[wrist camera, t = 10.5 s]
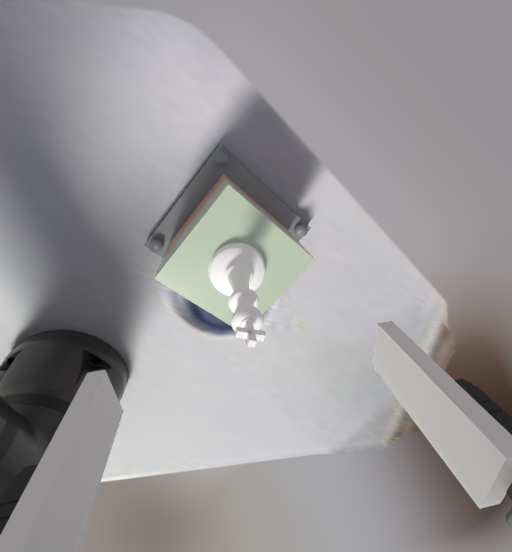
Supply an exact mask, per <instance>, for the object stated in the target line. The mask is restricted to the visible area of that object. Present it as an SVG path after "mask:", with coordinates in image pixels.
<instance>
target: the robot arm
mask: <svg viewBox="0 0 512 552" xmlns="http://www.w3.org/2000/svg"><path fill="white" fill-rule="evenodd" d="M372 366H373V367H374V369H375V370H376V371H377V373H378V374H379V375H380V377H381V378H382V379H383V381H384V382H385V383H386V385H387V386H388V387H389V389H390V390H391V391H392V393H393V394H394V395H395V397H396V398H397V399H398V401H399V402H400V403H401V405H402V406H403V407H404V409H405V410H406V411H407V413H408V414H409V415H410V417H411V418H412V419H413V421H414V422H415V423H416V425H417V426H418V427H419V429H420V430H421V431H422V433H423V434H424V435H425V436H426V438H427V439H428V440H429V442H430V443H431V444H432V446H433V447H434V449H435V450H436V451H437V453H438V454H439V455H440V457H441V458H442V459H443V461H444V462H445V463H446V465H447V466H448V467H449V469H450V470H451V471H452V472H453V474H454V475H455V477H456V478H457V479H458V480H459V482H460V483H461V484H462V486H463V487H464V489H465V490H466V491H467V493H468V494H469V495H470V497H471V498H472V499H473V500H474V502H475V503H476V504H477V506H478V507H479V508H484V507H488V506H492V505H496V504H499V503H501V501H502V500H503V498H504V496H505V494H506V493H507V494H508V496H509V497H510V498H511V499H512V417H511V416H509V415H508V414H507V413H506V412H505V411H503V410H502V408H501V407H499V406H498V405H497V404H496V403H495V402H492V400H491V399H490V398H489V397H488V396H487V395H486V394H485V393H484V392H483V391H481V390H480V389H479V388H478V387H476V386H475V385H473V384H471V383H469V382H467V381H466V380H464V379H459V380H453V379H452V378H451V377H450V376H449V375H448V374H447V373H446V372H445V371H444V370H443V369H442V368H441V367H439V366H438V365H437V364H436V363H435V362H434V361H433V360H432V359H431V358H430V357H429V356H428V355H427V354H426V353H425V352H424V351H423V350H422V349H421V348H419V347H418V346H417V345H416V344H415V343H414V342H413V341H412V340H411V339H410V338H409V337H408V336H407V335H406V334H405V333H404V332H403V331H402V330H401V329H399V328H398V327H397V326H396V325H395V324H394V323H393V322H392V321H390V322H384V323H378V324H377V331H376V338H375V345H374V352H373V359H372ZM127 380H128V372H127V367H126V365H125V362H124V361H123V359H122V357H121V356H120V355H119V354H118V353H117V352H116V351H115V350H114V349H113V348H112V347H111V346H109V345H108V344H107V343H105V342H103V341H101V340H99V339H97V338H95V337H93V336H90V335H87V334H83V333H79V332H73V331H49V332H43V333H39V334H36V335H33V336H31V337H29V338H27V339H25V340H24V341H22V342H21V343H20V344H19V345H17V346H16V348H15V349H14V350H13V351H12V352H11V353H10V354H9V355H8V356H7V357H6V358H5V359H4V361H3V362H2V364H1V366H0V552H78V549H79V546H80V543H81V540H82V537H83V534H84V531H85V528H86V525H87V522H88V518H89V516H90V512H91V509H92V506H93V503H94V500H95V497H96V494H97V491H98V488H99V485H100V481H101V478H102V475H103V472H104V469H105V466H106V463H107V460H108V457H109V454H110V450H111V447H112V444H113V441H114V438H115V435H116V432H117V429H118V426H119V423H120V419H121V416H122V413H123V409H122V407H121V405H120V402H119V401H120V400H121V398H122V395H123V393H124V390H125V387H126V384H127ZM506 523H508V524H511V523H512V508H511V509H510V511H509V512H508V514H507V515H506Z"/></svg>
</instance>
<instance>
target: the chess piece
mask: <svg viewBox="0 0 512 552" xmlns="http://www.w3.org/2000/svg"><path fill="white" fill-rule="evenodd" d="M208 272H209V277H210V280H211V282H212V284H213V286H214V287H215V288H216V289H217V290H218V291H219V292H221V293H222V294H224V295H227V296H230V297H229V299H228V306H229V308H230V310H231V311H232V312H233V313H234V314H233V316H232V319H231V325H232V328H233V329H234V331H235V338H242V339H246V343H247V346H248V347H255V345H256V342H257V341H262V342H263V341H264V339H265V336H266V335H265V332H264V331H261V330H260V329H261V328H262V326H263V323H264V318H263V315H262V313H261V312H260V311H259V310H258V309H257V307H258V304H259V298H258V295H257V294H256V293H255V292H254V291H255V290H256V289H257V288H258V287H259V286H260V285H261V283H262V281H263V279H264V276H265V263H264V260H263V257H262V256H261V254H260V253H259V252H258V251H257V250H256V249H255V248H254V247H252V246H250V245H248V244H244V243H231V244H227V245H225V246H223V247H221V248H220V249H218V250H217V251H216V252H215V253H214V254H213V256H212V258H211V260H210V262H209V267H208Z"/></svg>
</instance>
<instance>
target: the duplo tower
mask: <svg viewBox="0 0 512 552" xmlns="http://www.w3.org/2000/svg"><path fill="white" fill-rule="evenodd" d="M309 229H310V227H309V226H308V225H307V224H306V223H305V222H304V221H303V220H302V219H301V218H300V217H299V216H298V215H296V214H295V213H294V212H293V211H292V210H291V209H290V208H289V207H288V206H287V205H286V204H285V203H284V202H282V201H281V200H280V199H279V198H278V197H277V196H276V195H275V194H274V193H273V192H272V191H271V190H270V189H268V188H267V187H266V186H265V185H264V184H263V183H262V182H261V181H260V180H259V179H258V178H257V177H256V176H254V175H253V174H252V173H251V172H250V171H249V170H248V169H247V168H246V167H245V166H244V165H243V164H242V163H240V162H239V161H238V160H237V159H236V158H235V157H234V156H233V155H232V154H231V153H230V152H229V151H228V150H226V149H225V148H224V147H223V146H222V145H221V144H220V145H219V146H218V147H217V149H216V150H215V151H214V153H213V154H212V156H211V157H210V158H209V160H208V161H207V162H206V164H205V165H204V166H203V168H202V169H201V170H200V172H199V173H198V174H197V176H196V177H195V178H194V180H193V181H192V182H191V184H190V185H189V186H188V188H187V189H186V190H185V192H184V193H183V194H182V196H181V197H180V198H179V200H178V201H177V202H176V204H175V205H174V206H173V208H172V209H171V210H170V212H169V213H168V214H167V216H166V217H165V218H164V220H163V221H162V222H161V224H160V225H159V226H158V228H157V229H156V230H155V232H154V233H153V234H152V236H151V237H150V238H149V240H148V241H147V243H146V244H145V246H146V247H148V248H149V249H151V251H153V252H156V253H157V254H159V255H160V256H162V257H163V259H162V262H161V264H160V266H159V268H158V271H157V273H156V275H155V278H154V279H156V280H157V281H159V282H160V283H162V284H164V285H165V286H167V287H169V288H170V289H172V290H173V291H175V292H177V293H178V294H180V295H182V296H183V297H185V298H186V299H188V300H190V301H191V302H193V303H195V304H196V305H198V306H199V307H201V308H203V309H204V310H206V311H208V312H209V313H211V314H212V315H214V316H216V317H217V318H219V319H220V320H222V321H224V322H225V323H227V324H229V325H230V326H232V325H231V319H232V316H233V314H234V313H233V312H232V311H231V310H230V308H229V306H228V299H229V297H230V296H227V295H224V294H222V293H221V292H219V291H218V290H217V289H216V288H215V287H214V286H213V284H212V282H211V280H210V277H209V272H208V267H209V262H210V260H211V258H212V256H213V254H214V253H215V252H216V251H217V250H218V249H220V248H221V247H223V246H225V245H227V244H231V243H244V244H248V245H250V246H252V247H254V248H255V249H256V250H257V251H258V252H259V253H260V254H261V256H262V257H263V260H264V263H265V276H264V279H263V281H262V283H261V285H260V286H259V287H258V288H257V289H256V290H255V291H254V292H255V293H256V294H257V295H258V298H259V304H258V307H257V309H258V310H259V311H260V312H261V313H262V314H263V313H264V312H265V311H266V310H267V309H268V308H269V307H270V306H271V305H272V304H273V303H274V302H275V301H276V300H277V299H278V298H279V297H280V296H281V295H282V294H283V293H284V292H285V291H286V290H287V288H288V287H289V286H290V285H291V284H292V283H293V282H294V281H295V280H296V279H297V278H298V277H299V276H300V275H301V274H302V273H303V272H304V271H305V270H306V269H307V268H308V267H309V266H310V265H311V264H312V263H313V261H314V260H315V259H314V258H313V257H312V256H311V254H310V253H309V252H308V251H307V250H306V249H305V248H304V247H303V246H302V245H301V244H300V242H299V240H300V239H301V238H302V237H303V236H305V235H306V234H307V232H308V230H309Z"/></svg>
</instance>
